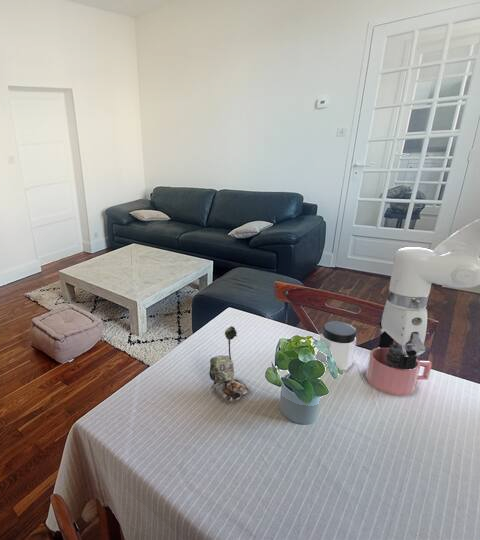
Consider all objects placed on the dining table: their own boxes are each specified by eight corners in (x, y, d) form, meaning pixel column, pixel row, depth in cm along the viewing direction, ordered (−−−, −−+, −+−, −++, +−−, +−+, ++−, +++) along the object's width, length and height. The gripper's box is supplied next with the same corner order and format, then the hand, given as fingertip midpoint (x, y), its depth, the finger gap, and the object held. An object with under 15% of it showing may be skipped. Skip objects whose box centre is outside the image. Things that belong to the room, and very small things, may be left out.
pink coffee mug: (378, 396, 88) (383, 370, 85) (358, 370, 97) (362, 347, 94) (440, 397, 85) (447, 371, 82) (413, 371, 95) (419, 347, 92)
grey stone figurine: (378, 370, 95) (385, 333, 91) (405, 378, 91) (414, 340, 87) (374, 381, 91) (381, 343, 87) (401, 390, 87) (410, 351, 83)
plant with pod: (203, 386, 98) (201, 327, 91) (240, 380, 99) (241, 320, 92) (213, 406, 90) (212, 343, 83) (253, 399, 91) (256, 335, 84)
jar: (349, 357, 103) (355, 323, 99) (354, 373, 96) (360, 337, 92) (316, 352, 107) (320, 319, 103) (318, 368, 100) (322, 333, 96)
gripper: (451, 314, 74) (434, 379, 80) (402, 283, 90) (391, 339, 96) (412, 315, 75) (399, 378, 81) (371, 284, 91) (362, 339, 97)
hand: (395, 357), depth 88 cm, fingers open, 8 cm apart
